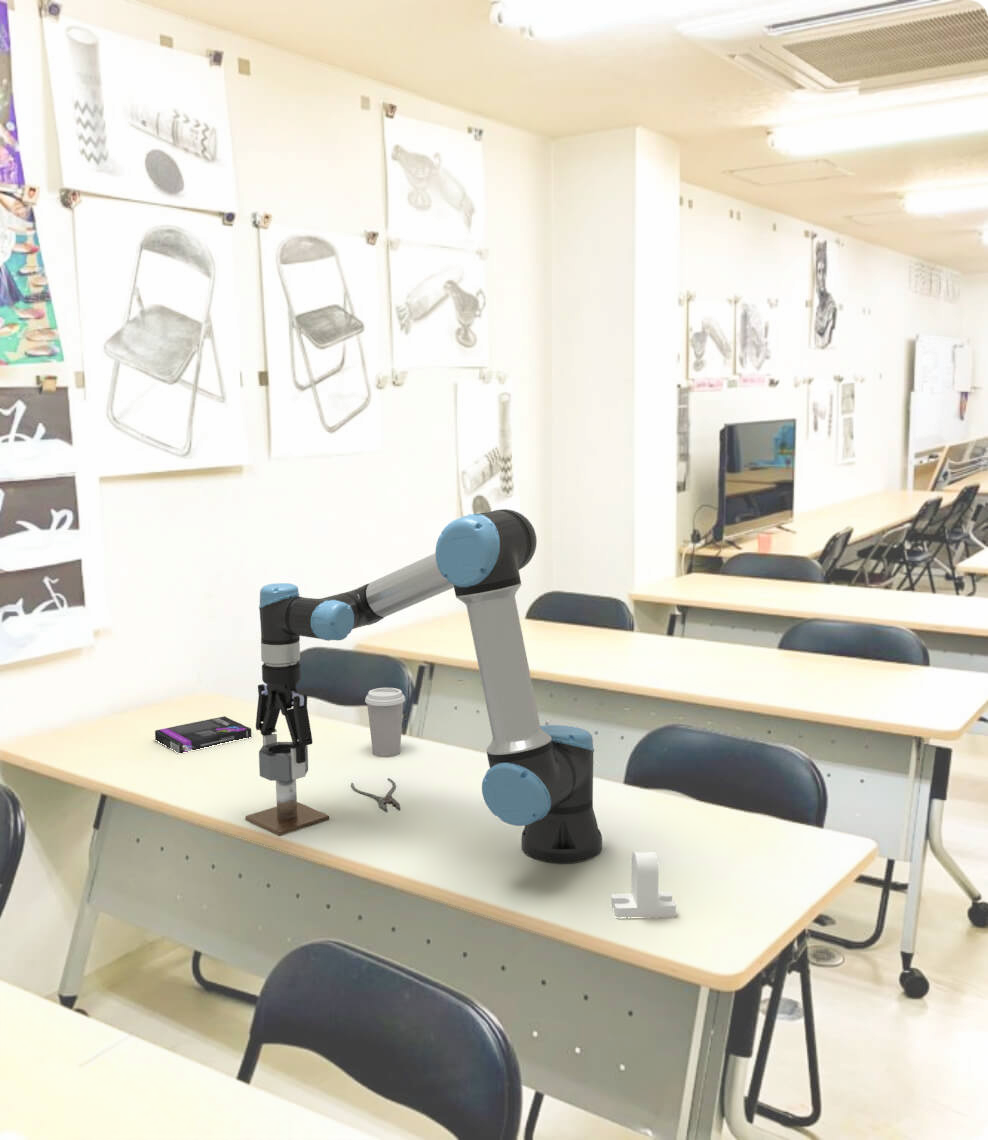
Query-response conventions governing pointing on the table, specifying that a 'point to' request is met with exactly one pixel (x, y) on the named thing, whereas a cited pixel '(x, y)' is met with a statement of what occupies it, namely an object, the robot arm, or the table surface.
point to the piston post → (286, 812)
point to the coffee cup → (385, 720)
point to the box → (202, 734)
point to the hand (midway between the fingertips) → (284, 771)
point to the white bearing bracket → (644, 891)
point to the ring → (278, 761)
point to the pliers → (382, 800)
